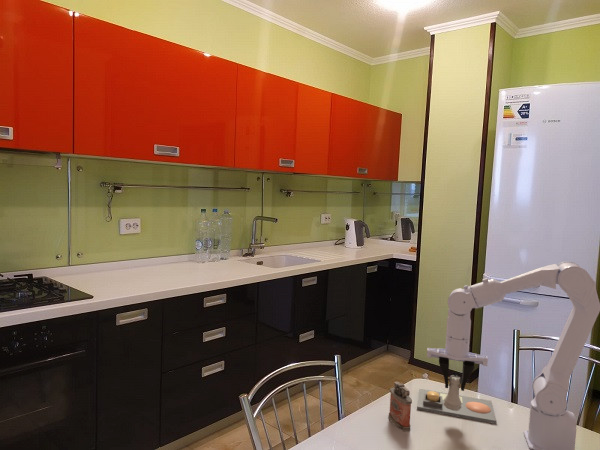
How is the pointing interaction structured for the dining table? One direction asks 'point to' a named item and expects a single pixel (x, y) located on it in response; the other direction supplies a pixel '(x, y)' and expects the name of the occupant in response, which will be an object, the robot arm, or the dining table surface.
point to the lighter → (400, 406)
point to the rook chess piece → (453, 394)
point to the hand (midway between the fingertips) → (454, 387)
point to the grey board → (469, 407)
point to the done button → (432, 396)
